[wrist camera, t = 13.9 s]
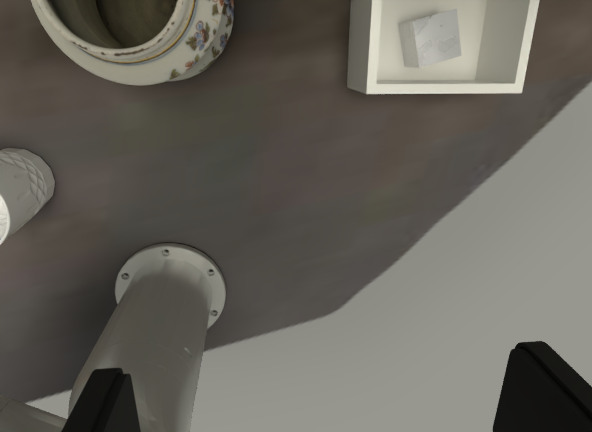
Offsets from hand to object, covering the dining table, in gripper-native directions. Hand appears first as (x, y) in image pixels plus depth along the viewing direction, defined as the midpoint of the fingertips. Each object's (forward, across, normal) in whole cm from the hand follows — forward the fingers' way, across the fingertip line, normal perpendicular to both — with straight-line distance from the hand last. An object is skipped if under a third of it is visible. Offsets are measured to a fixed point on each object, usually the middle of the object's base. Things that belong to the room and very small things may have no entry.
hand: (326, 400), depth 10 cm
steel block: (+35, -15, -10) cm, 39 cm away
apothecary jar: (+36, +9, -12) cm, 39 cm away
